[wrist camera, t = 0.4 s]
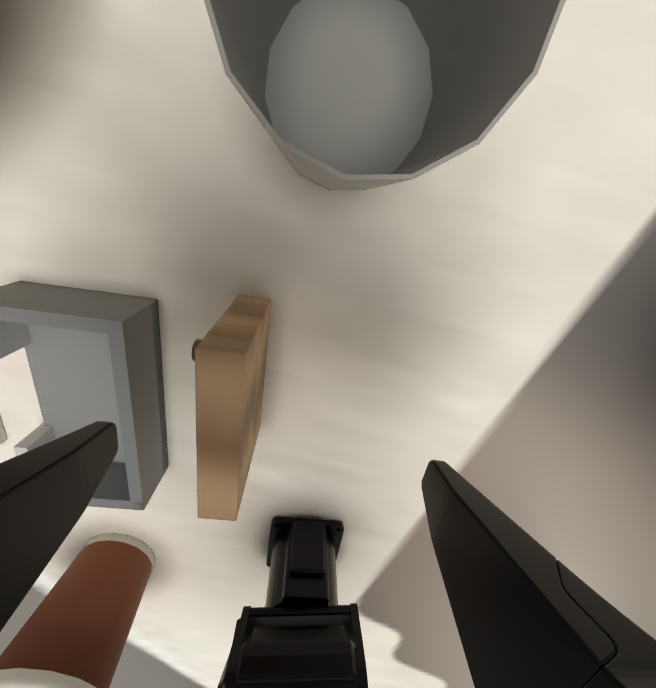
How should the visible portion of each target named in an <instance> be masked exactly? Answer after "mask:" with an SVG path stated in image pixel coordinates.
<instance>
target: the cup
mask: <svg viewBox="0 0 656 688" xmlns="http://www.w3.org/2000/svg"><path fill="white" fill-rule="evenodd" d="M204 1H205V5H206V8H207V11H208V15H209V18H210V22H211V25H212V28H213V32H214V35H215V38H216V42H217V45H218V49H219V52H220V55H221V59H222V62H223V65H224V69H225V72H226V75H227V76H228V77H229V79H230V80H231V82H232V83H233V84H234V86H235V87H236V89H237V90H238V91H239V93H240V94H241V96H242V97H243V98H244V100H245V101H246V102H247V104H248V105H249V107H250V108H251V109H252V111H253V112H254V114H255V115H256V116H257V118H258V119H259V121H260V122H261V123H262V125H263V126H264V127H265V129H266V130H267V132H268V133H269V134H270V136H271V137H272V139H273V140H274V141H275V143H276V144H277V145H278V147H279V148H280V149H281V151H282V152H283V153H284V155H285V156H286V157H287V159H288V160H289V161H290V163H291V164H292V165H293V167H294V168H295V169H296V171H297V172H298V173H299V174H300V175H302V176H304V177H306V178H308V179H310V180H312V181H313V182H315V183H317V184H319V185H321V186H323V187H325V188H327V189H329V190H365V189H370V188H374V187H379V186H383V185H388V184H393V183H397V182H402V181H406V180H411V179H414V178H416V177H418V176H419V175H421V174H423V173H425V172H427V171H429V170H431V169H433V168H435V167H436V166H438V165H440V164H442V163H444V162H446V161H448V160H450V159H452V158H453V157H455V156H457V155H459V154H461V153H463V152H465V151H467V150H469V149H470V148H472V147H474V146H476V145H478V144H480V142H481V141H482V140H483V139H484V137H485V136H486V135H487V134H488V133H489V131H490V130H491V129H492V128H493V127H494V125H495V124H496V123H497V122H498V121H499V119H500V118H501V117H502V116H503V115H504V113H505V112H506V111H507V110H508V108H509V107H510V106H511V105H512V104H513V102H514V101H515V100H516V99H517V98H518V96H519V95H520V94H521V93H522V92H523V90H524V89H525V88H526V87H527V86H528V84H529V83H530V82H531V81H532V79H533V78H534V77H535V76H536V75H537V73H538V71H539V68H540V65H541V63H542V60H543V58H544V55H545V52H546V50H547V47H548V45H549V42H550V40H551V37H552V34H553V32H554V29H555V27H556V24H557V21H558V19H559V16H560V14H561V11H562V8H563V6H564V3H565V1H566V0H204Z"/></svg>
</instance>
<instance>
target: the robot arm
mask: <svg viewBox="0 0 656 688" xmlns="http://www.w3.org/2000/svg"><path fill="white" fill-rule="evenodd" d="M117 451H118V437H117V427H116V425H115V423H113V422H106V421H97V422H94V423H92V424H90V425H87V426H85V427H83V428H80V429H78V430H76V431H73V432H71V433H69V434H67V435H64V436H62V437H60V438H57V439H55V440H53V441H50V442H48V443H46V444H44V445H41V446H39V447H37V448H34V449H32V450H30V451H28V452H25V453H23V454H21V455H18V456H16V457H14V458H11V459H9V460H7V461H5V462H2V463H0V632H1V630H2V629H3V627H4V626H5V624H6V623H7V622H8V620H9V619H10V617H11V616H12V614H13V613H14V612H15V610H16V609H17V607H18V606H19V604H20V603H21V601H22V600H23V599H24V597H25V596H26V594H27V593H28V591H29V590H30V589H31V587H32V586H33V584H34V583H35V581H36V580H37V578H38V577H39V576H40V574H41V573H42V571H43V570H44V568H45V567H46V566H47V564H48V563H49V561H50V560H51V558H52V557H53V555H54V554H55V553H56V551H57V550H58V548H59V547H60V545H61V544H62V543H63V541H64V540H65V538H66V537H67V535H68V534H69V533H70V531H71V530H72V528H73V527H74V525H75V524H76V522H77V521H78V520H79V518H80V517H81V515H82V514H83V512H84V511H85V509H86V508H87V506H88V504H89V502H90V501H91V499H92V497H93V496H94V494H95V492H96V490H97V488H98V487H99V485H100V483H101V481H102V479H103V478H104V476H105V474H106V472H107V471H108V469H109V467H110V465H111V463H112V462H113V460H114V458H115V456H116V454H117ZM422 492H423V497H424V503H425V508H426V513H427V519H428V524H429V529H430V534H431V539H432V543H433V547H434V550H435V553H436V557H437V560H438V564H439V567H440V571H441V574H442V577H443V580H444V584H445V588H446V591H447V594H448V598H449V601H450V604H451V608H452V611H453V615H454V618H455V622H456V625H457V628H458V632H459V635H460V638H461V642H462V645H463V649H464V652H465V656H466V659H467V663H468V666H469V669H470V672H471V676H472V680H473V683H474V686H475V688H656V640H655V639H654V638H653V637H651V636H650V635H649V634H647V633H646V632H645V631H643V630H642V629H641V628H640V627H639V626H637V625H636V624H635V623H633V622H632V621H631V620H630V619H628V618H627V617H626V616H624V615H623V614H622V613H621V612H620V611H618V610H617V609H616V608H615V607H613V606H612V605H611V604H610V603H608V602H607V601H606V600H605V599H603V598H602V597H601V596H600V595H598V594H597V593H596V592H595V591H594V590H592V589H591V588H590V587H589V586H588V585H587V584H585V583H584V582H583V581H582V580H581V579H580V578H578V577H577V576H576V575H575V574H574V573H572V572H571V571H570V570H569V569H568V568H567V567H565V566H564V565H563V564H562V563H561V562H560V561H558V560H556V558H555V557H554V556H553V555H552V554H550V553H549V552H548V551H547V550H546V549H545V548H544V547H542V546H541V545H540V544H539V543H538V542H537V541H536V540H534V539H533V538H532V537H531V536H530V535H529V534H528V533H526V532H525V531H524V530H523V529H522V528H521V527H519V526H518V525H517V524H516V523H515V522H514V521H513V520H511V519H510V518H509V517H508V516H507V515H506V514H505V513H503V512H502V511H501V510H500V509H499V508H498V507H496V506H495V505H494V504H493V503H492V502H491V501H490V500H488V499H487V498H486V497H485V496H484V495H483V494H482V493H480V492H479V491H478V490H477V489H476V488H474V487H473V486H472V485H471V484H470V483H469V482H468V481H466V480H465V479H464V478H463V477H462V476H461V475H460V474H458V473H457V472H456V471H455V470H454V469H453V468H452V467H450V466H449V465H448V464H447V463H446V462H444V461H438V460H431V461H430V462H429V463H428V466H427V469H426V471H425V474H424V477H423V479H422ZM343 531H344V527H343V523H341V522H332V521H319V520H306V519H293V518H280V517H276V518H273V519H272V522H271V530H270V539H269V547H268V555H267V563H266V564H267V566H268V567H270V574H269V582H268V590H267V598H266V606H265V607H258V608H251V606H244V608H243V611H242V615H241V618H240V619H239V620H237V623H236V629H235V634H234V639H233V643H232V647H231V651H230V654H229V657H228V660H227V662H226V665H225V668H224V671H223V673H222V676H221V679H220V682H219V684H218V688H368V681H367V671H366V662H365V655H364V648H363V641H362V634H361V627H360V621H359V614H358V607H357V603H350V605H338V598H337V579H336V558H337V554H338V550H339V546H340V543H341V539H342V535H343Z"/></svg>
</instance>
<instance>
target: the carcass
mask: <svg viewBox="0 0 656 688" xmlns="http://www.w3.org/2000/svg"><path fill="white" fill-rule="evenodd" d="M23 347H25V350H26V354H27V358H28V362H29V366H30V370H31V374H32V377H33V381H34V385H35V389H36V393H37V397H38V401H39V405H40V409H41V412H42V416H43V420H44V423H43V424H41V425H40V426H39V427H38V428H36V429H35V430H34V431H33V432H31V433H30V434H29V435H28V436H27V437H25V438H24V439H23V440H22V441H20V442H19V443H18V444H17V445H16V446H14V450H15V453H16V456H18V455H21V454H23V453H25V452H28V451H30V450H32V449H34V448H37V447H39V446H41V445H44V444H46V443H48V442H50V441H53V440H55V439H57V438H60V437H62V436H64V435H67V434H69V433H71V432H73V431H76V430H78V429H80V428H83V427H85V426H87V425H90V424H92V423H94V422H97V421H106V422H113V423H115V425H116V427H117V437H118V451H117V454H116V456H115V458H114V460H113V462H112V463H111V465H110V467H109V469H108V471H107V472H106V474H105V476H104V478H103V479H102V481H101V483H100V485H99V487H98V488H97V490H96V492H95V494H94V496H93V497H92V499H91V501H90V502H89V504H88V506H93V507H107V508H120V509H133V510H144V509H145V507H146V505H147V504H148V502H149V500H150V498H151V496H152V495H153V493H154V491H155V489H156V487H157V486H158V484H159V482H160V480H161V478H162V477H163V475H164V473H165V471H166V470H167V468H168V453H167V437H166V422H165V407H164V392H163V377H162V361H161V346H160V331H159V316H158V300H157V299H150V298H142V297H135V296H127V295H120V294H112V293H105V292H98V291H90V290H83V289H75V288H68V287H61V286H53V285H46V284H38V283H31V282H23V281H19V282H15V283H11V284H8V285H4V286H0V359H1V358H3V357H5V356H7V355H9V354H11V353H13V352H15V351H17V350H19V349H21V348H23ZM5 440H7V437H6V434H5V431H4V428H3V424H2V421H1V418H0V444H2V443H3V442H4V441H5Z"/></svg>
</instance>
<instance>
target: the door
mask: <svg viewBox="0 0 656 688" xmlns="http://www.w3.org/2000/svg"><path fill="white" fill-rule="evenodd" d="M270 303H271V300H270V299H262V298H255V297H248V296H241V295H239V296H238V297H237V298H236V299H235V301H234V302H233V303H232V304H231V306H230V307H229V308H228V309H227V310H226V312H225V313H224V314H223V315H222V317H221V318H220V319H219V320H218V321H217V323H216V324H215V325H214V326H213V327H212V329H211V330H210V331H209V332H208V334H207V335H206V336H205V337H204V338H203V340H198V339H196V340H195V342H194V344H193V347H192V359H193V361H195V382H196V442H197V502H198V518H205V519H219V520H232V521H236V519H237V515H238V511H239V507H240V503H241V499H242V495H243V491H244V487H245V483H246V479H247V475H248V471H249V468H250V464H251V460H252V456H253V452H254V448H255V444H256V440H257V436H258V432H259V428H260V422H261V410H262V398H263V386H264V374H265V363H266V351H267V339H268V327H269V315H270Z"/></svg>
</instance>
